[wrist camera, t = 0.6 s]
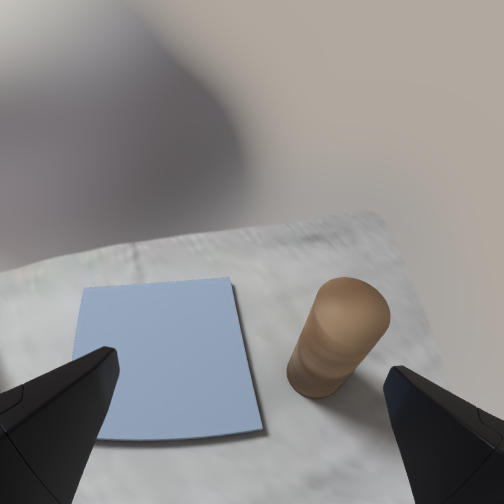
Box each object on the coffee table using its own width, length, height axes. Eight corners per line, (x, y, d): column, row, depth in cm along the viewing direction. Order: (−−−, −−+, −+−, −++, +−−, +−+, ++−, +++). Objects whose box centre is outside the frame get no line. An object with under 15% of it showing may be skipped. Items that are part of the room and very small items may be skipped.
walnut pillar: (350, 387, 24) (403, 329, 17) (298, 406, 22) (337, 353, 15) (328, 342, 27) (366, 271, 20) (278, 355, 26) (303, 285, 19)
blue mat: (261, 430, 21) (262, 428, 20) (72, 437, 17) (68, 435, 17) (229, 282, 32) (229, 277, 31) (86, 292, 29) (84, 287, 28)
